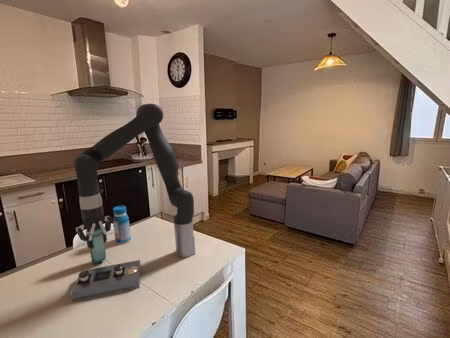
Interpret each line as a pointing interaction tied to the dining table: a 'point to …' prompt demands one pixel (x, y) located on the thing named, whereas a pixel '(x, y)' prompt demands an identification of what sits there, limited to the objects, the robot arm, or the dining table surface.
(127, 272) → the housing
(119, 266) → the plunger
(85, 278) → the plunger
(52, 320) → the dining table surface
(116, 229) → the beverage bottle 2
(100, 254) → the cylinder
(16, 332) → the dining table surface
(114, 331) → the dining table surface
